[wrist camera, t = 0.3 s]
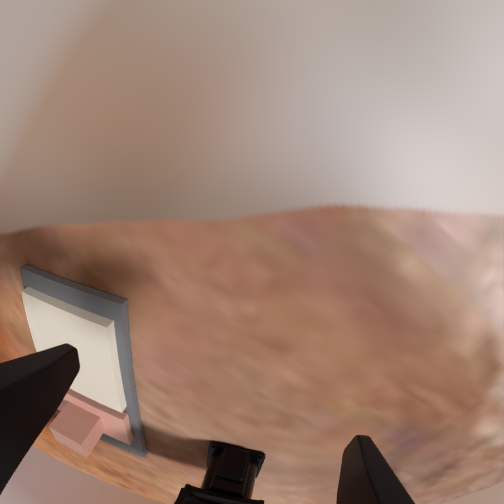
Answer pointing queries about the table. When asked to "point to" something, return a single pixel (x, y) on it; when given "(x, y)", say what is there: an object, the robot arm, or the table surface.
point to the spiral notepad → (79, 345)
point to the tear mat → (118, 313)
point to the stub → (88, 423)
